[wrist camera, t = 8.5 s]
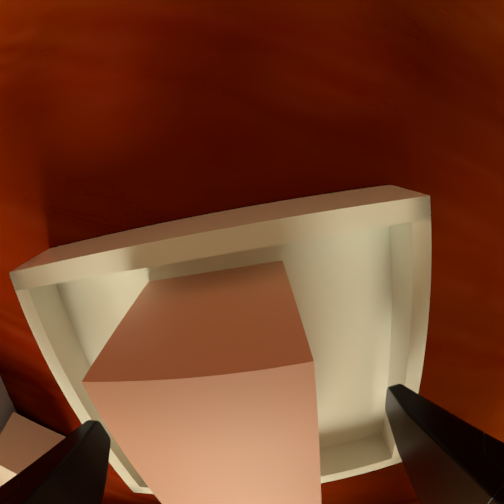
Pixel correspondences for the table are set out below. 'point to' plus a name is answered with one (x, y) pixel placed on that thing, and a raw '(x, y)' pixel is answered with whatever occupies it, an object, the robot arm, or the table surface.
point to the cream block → (23, 445)
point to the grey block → (5, 406)
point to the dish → (304, 290)
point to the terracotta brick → (214, 389)
